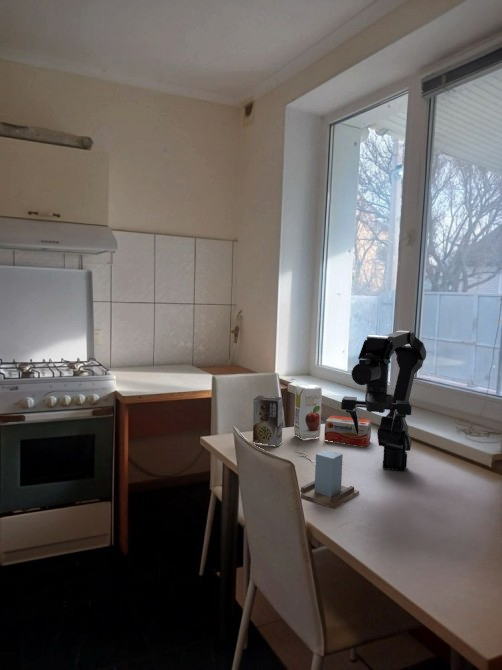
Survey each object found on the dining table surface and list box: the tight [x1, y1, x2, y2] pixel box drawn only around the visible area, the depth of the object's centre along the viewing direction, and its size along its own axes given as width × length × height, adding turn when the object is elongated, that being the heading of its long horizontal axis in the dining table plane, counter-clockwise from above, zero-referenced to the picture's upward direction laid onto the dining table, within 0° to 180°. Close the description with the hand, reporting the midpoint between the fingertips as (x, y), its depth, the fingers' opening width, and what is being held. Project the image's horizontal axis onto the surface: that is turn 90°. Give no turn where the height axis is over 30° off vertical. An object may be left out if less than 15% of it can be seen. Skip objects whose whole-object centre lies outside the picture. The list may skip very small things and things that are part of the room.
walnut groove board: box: [300, 480, 360, 509], centre depth 132 cm, size 12×12×2 cm
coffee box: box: [252, 395, 284, 447], centre depth 174 cm, size 9×6×16 cm
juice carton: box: [293, 384, 323, 439], centre depth 182 cm, size 8×9×19 cm
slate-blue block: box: [314, 449, 343, 497], centre depth 131 cm, size 5×5×10 cm
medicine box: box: [323, 415, 372, 448], centre depth 180 cm, size 15×8×8 cm, turn 68°
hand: (374, 435), depth 141 cm, fingers open, 9 cm apart
